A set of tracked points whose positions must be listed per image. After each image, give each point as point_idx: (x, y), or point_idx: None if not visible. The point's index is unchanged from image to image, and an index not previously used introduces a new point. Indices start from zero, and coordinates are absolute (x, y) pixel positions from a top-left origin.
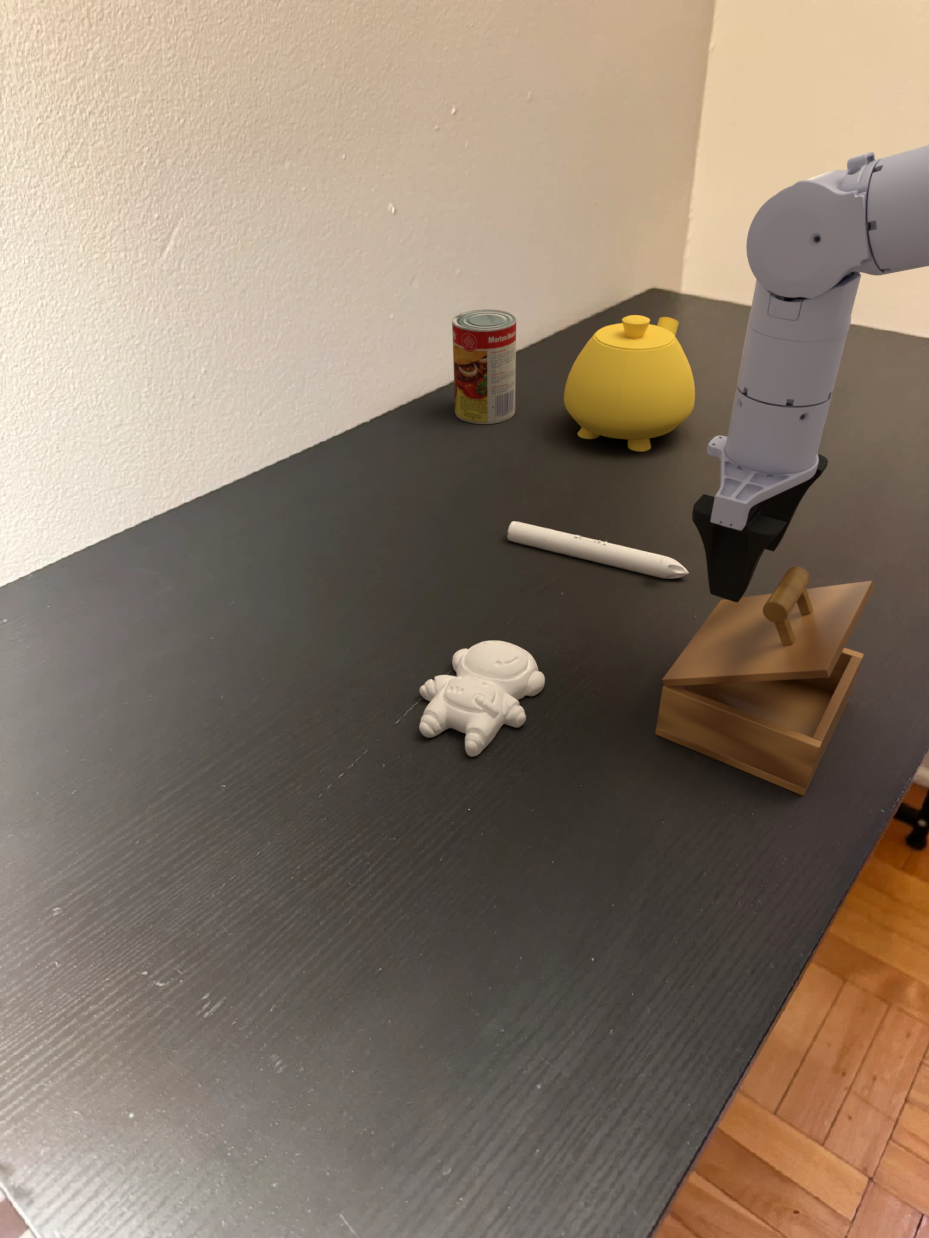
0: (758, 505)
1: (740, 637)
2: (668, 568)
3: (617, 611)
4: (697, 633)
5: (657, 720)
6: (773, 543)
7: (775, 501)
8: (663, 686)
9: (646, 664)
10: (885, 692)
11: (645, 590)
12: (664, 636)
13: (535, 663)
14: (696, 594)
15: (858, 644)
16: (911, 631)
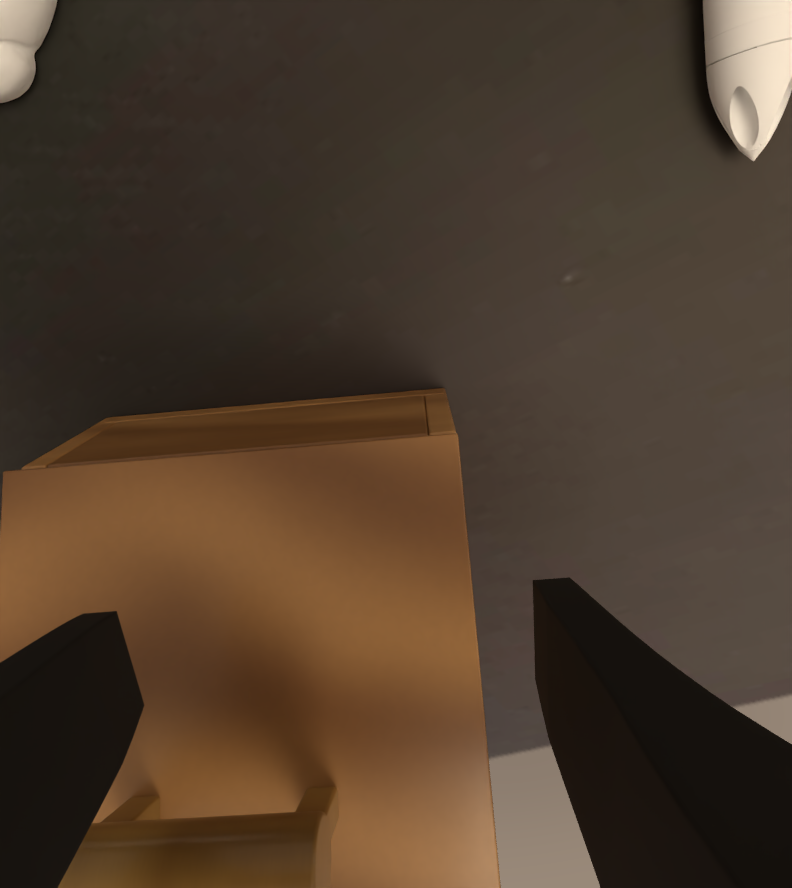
0: (607, 751)
1: (200, 624)
2: (731, 93)
3: (459, 63)
4: (247, 456)
5: (87, 429)
6: (543, 700)
7: (626, 881)
8: (23, 468)
9: (298, 276)
10: (532, 701)
11: (615, 75)
12: (433, 253)
13: (6, 24)
14: (676, 226)
15: (664, 623)
16: (770, 686)
